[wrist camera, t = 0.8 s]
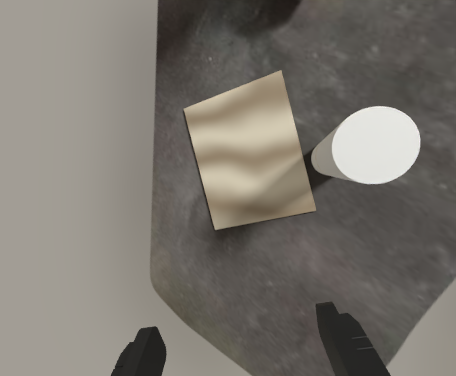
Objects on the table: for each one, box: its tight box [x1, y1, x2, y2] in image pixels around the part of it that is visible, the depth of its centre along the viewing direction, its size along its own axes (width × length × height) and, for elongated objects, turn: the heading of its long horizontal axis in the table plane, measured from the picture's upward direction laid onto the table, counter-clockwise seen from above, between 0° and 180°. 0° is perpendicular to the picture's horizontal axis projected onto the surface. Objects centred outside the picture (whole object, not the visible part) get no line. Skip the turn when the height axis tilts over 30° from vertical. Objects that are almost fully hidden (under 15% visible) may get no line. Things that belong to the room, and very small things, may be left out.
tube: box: [311, 106, 420, 184], centre depth 19 cm, size 4×4×15 cm
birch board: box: [184, 71, 316, 230], centre depth 29 cm, size 18×14×1 cm
